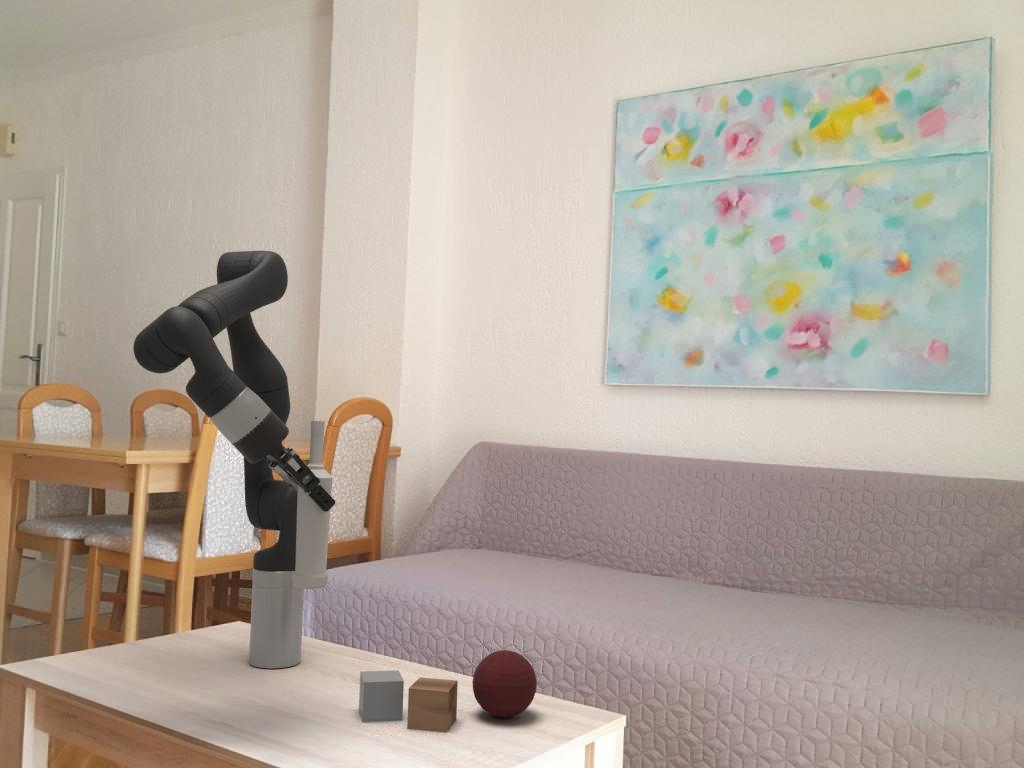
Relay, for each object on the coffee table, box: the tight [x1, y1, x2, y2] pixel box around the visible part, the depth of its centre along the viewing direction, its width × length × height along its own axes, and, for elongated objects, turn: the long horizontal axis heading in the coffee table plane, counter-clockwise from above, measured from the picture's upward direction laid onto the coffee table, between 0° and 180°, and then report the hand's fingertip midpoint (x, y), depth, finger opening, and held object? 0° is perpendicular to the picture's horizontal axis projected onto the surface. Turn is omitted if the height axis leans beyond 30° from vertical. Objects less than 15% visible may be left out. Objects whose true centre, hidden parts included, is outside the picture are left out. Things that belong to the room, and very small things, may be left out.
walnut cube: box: [406, 677, 459, 734], centre depth 140 cm, size 6×6×6 cm
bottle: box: [293, 420, 333, 590], centre depth 141 cm, size 5×5×25 cm
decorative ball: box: [472, 649, 538, 719], centre depth 144 cm, size 10×10×10 cm
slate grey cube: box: [358, 669, 405, 723], centre depth 143 cm, size 6×6×6 cm
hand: (325, 505), depth 142 cm, fingers closed on bottle, 5 cm apart
